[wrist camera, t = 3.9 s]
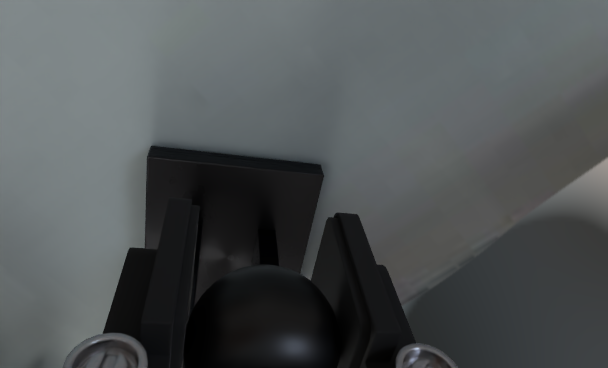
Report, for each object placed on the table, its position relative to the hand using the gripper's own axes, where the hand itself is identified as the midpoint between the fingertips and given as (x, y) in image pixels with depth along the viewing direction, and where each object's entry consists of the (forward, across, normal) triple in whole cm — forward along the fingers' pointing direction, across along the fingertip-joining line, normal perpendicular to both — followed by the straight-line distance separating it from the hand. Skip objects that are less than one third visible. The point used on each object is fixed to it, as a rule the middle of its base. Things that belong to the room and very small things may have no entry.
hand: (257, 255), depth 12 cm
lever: (+1, 0, +4) cm, 4 cm away
